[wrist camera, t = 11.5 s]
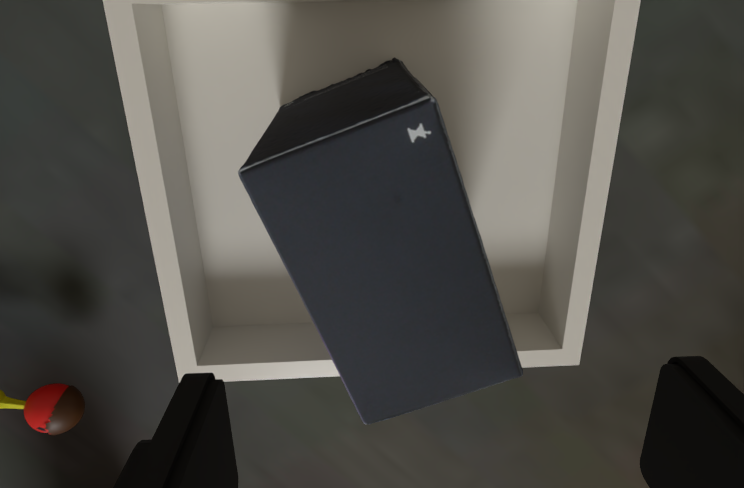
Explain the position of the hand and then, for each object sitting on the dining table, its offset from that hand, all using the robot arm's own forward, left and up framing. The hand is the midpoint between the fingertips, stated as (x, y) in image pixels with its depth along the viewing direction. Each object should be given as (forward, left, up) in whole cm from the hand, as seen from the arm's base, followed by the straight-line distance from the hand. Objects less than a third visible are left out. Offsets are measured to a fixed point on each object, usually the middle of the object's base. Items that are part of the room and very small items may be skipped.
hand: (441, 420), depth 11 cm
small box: (0, 0, -17) cm, 17 cm away
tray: (0, 0, -17) cm, 17 cm away
